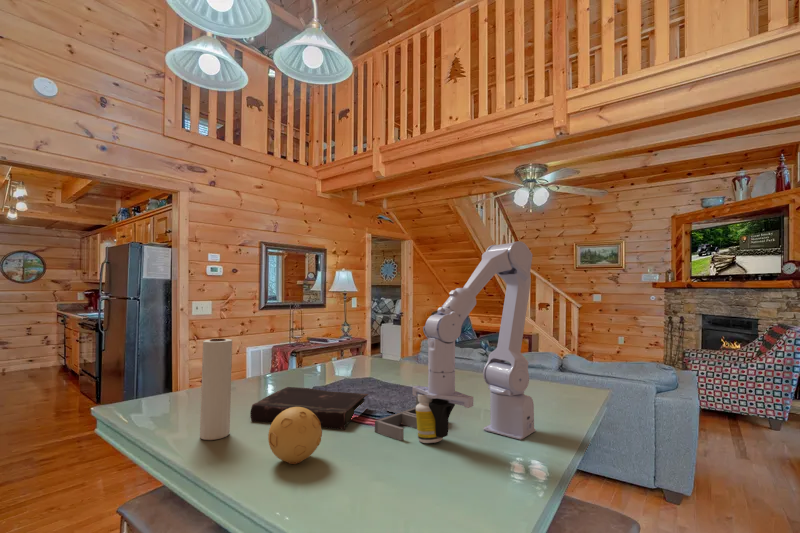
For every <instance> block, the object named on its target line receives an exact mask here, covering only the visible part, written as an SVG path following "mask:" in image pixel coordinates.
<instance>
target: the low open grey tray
mask: <svg viewBox="0 0 800 533" xmlns="http://www.w3.org/2000/svg"><path fill="white" fill-rule="evenodd" d="M417 404H419V401H418V396H415V407H412V408H409V409H406V410H402V411H403V412H400V413H397V414H394V413H393V414H390V415H388V416H386V417H383V418H379V419H376V420H374V433H377V434H379V435H382V436H386V437H388V438H391V439H394V440H398V441H400V442H401V441H404V438H405V437H404V436H405V435H404V431H405V429H404V427H402V426H401V425H405V426H407V427H410V428H414V429H417V419H416V406H417Z"/></svg>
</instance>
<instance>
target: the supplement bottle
mask: <svg viewBox="0 0 800 533" xmlns="http://www.w3.org/2000/svg"><path fill="white" fill-rule="evenodd" d="M418 401H419V404H417V406H416V405H415V407H416V419H417V428H416V429H417V438H418V439H417V440H418V441H419V443H424V444H433V443H434V444H435V443H439V442H441V441H442V440H443V438H444V437H443V438H441V437H437V436H436V431H435V418H434V415H433V413H432V411H431V409H430V408H429V403H431V402H432V398H428V397H427V395H424V394H418Z"/></svg>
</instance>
